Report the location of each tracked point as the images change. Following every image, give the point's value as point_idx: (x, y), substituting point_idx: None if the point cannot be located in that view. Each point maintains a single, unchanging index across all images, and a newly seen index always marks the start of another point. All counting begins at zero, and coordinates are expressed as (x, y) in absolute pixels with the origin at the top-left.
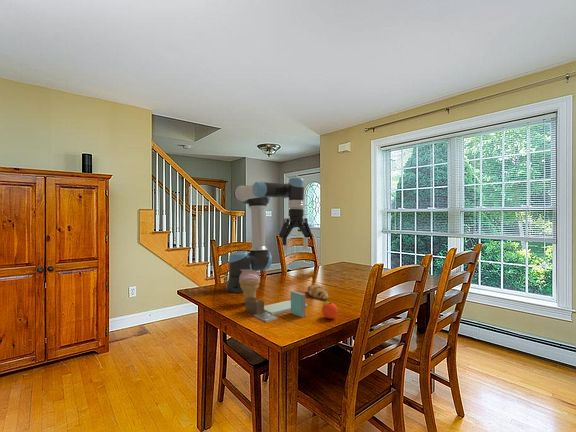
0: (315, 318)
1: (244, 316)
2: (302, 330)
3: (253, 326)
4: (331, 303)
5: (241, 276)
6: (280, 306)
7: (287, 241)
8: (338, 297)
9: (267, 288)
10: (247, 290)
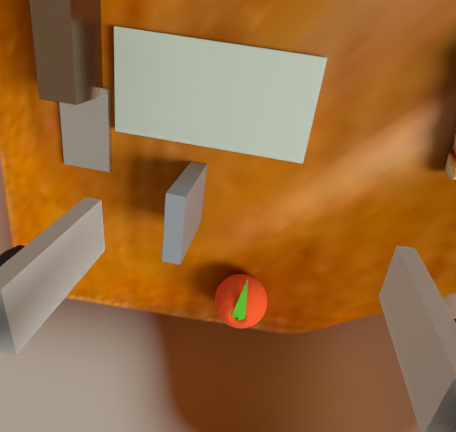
0: (210, 255)
1: (30, 55)
2: (112, 276)
3: (16, 159)
4: (242, 320)
5: None
6: (193, 96)
7: (31, 324)
8: None
9: None
10: None
